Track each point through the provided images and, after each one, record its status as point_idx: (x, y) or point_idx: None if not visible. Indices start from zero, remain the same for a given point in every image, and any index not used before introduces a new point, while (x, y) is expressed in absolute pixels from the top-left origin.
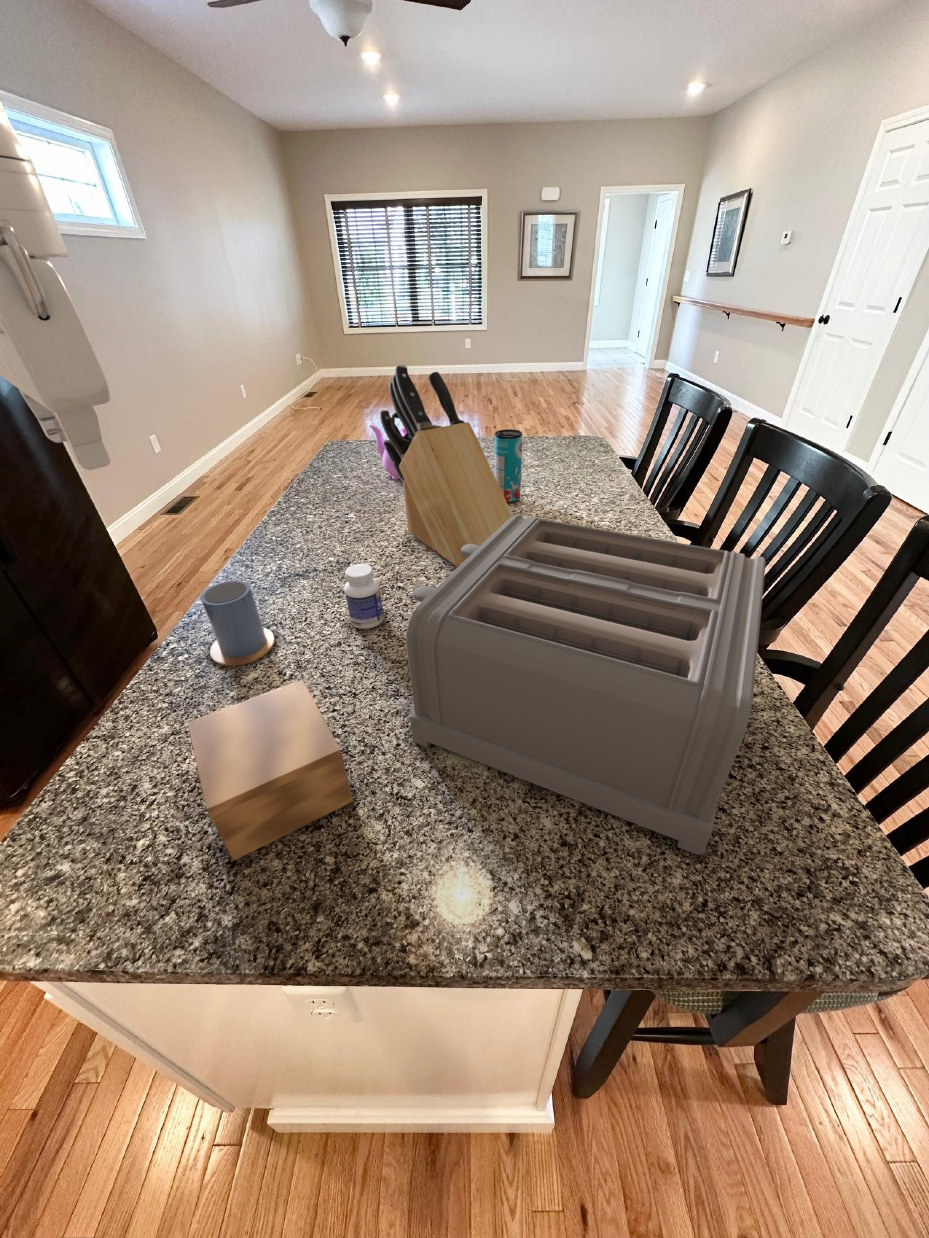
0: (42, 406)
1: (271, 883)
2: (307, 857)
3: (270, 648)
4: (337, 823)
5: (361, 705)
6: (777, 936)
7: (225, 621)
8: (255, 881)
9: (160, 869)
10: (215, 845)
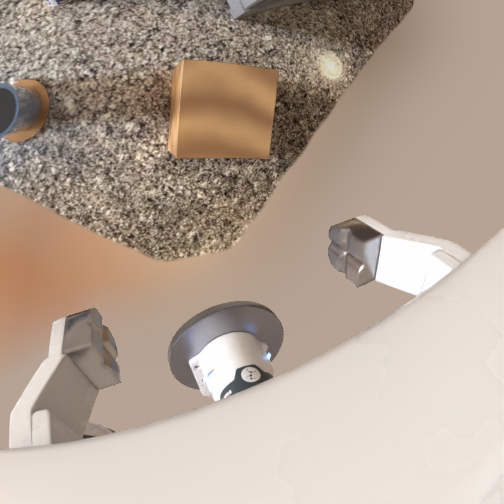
0: (77, 404)
1: None
2: None
3: (41, 84)
4: None
5: (172, 29)
6: (396, 11)
7: (24, 116)
8: None
9: (224, 186)
10: None
